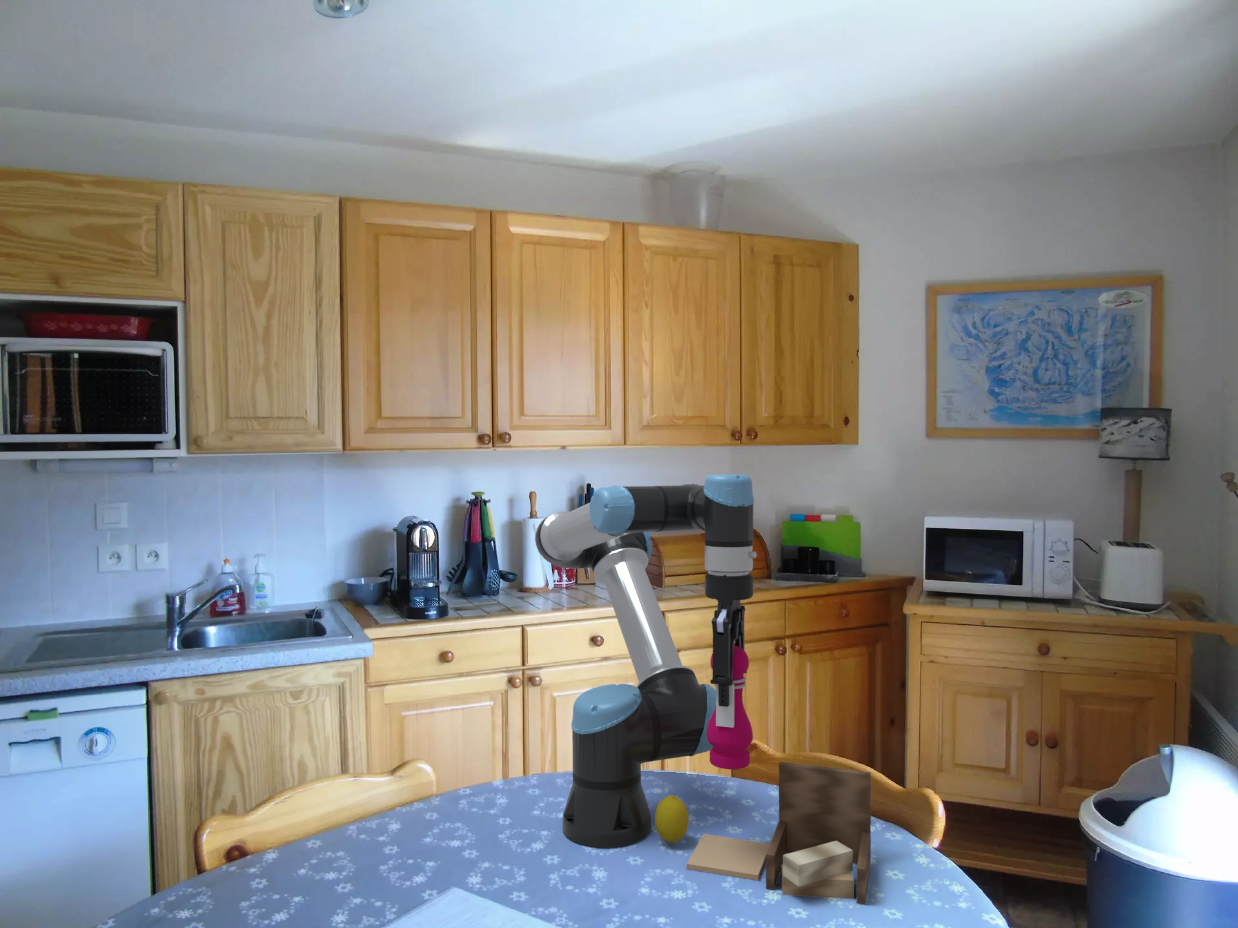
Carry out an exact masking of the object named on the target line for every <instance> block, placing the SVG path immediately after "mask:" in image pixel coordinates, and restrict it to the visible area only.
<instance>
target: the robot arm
mask: <svg viewBox="0 0 1238 928" xmlns="http://www.w3.org/2000/svg"><path fill="white" fill-rule="evenodd" d="M754 503H755V498H754V494H753V480H752V478H751V477H750V476H749V475H748V474H741V473H738V474H734V473H732V474H730V473H721V474H720V473H719V474H717V473H716V474H715V473H714V474H708V475H707V476H706V477H705V479H704V485H701V484H700V485H699V484H695V483H691V484H689V483H688V484H681V485H676V484H675V485H652V486H650V485H649V486H645V485H644V486H643V485H641V486H640V485H637V486H634V485H631V486H628V485H627V486H621V485H612V486H605V487H599V488H597V489H596V490H595V491H594V492H593V494H592V496H591V498H590V502H588V503H586V504H584V505H582V506H579V507H578V508H575V509H573V510H571V511H558V512H557V511H556V512H554V513H552V514H549V515H548V516H547V517H545V518H544V519H542V520H541V522H540V523H539V524H538V526H537V528H536V531H535V537H534V541H535V546H536V549H537V551H538V553H539V554H540V556H541V557H542V558H543V559H544V560H546V562H548V563H550V564H551V565H554V566H556V567H559V568H563V569H571V570H572V569H575V570H576V569H591V570H592V574H593V576H594V579H595V580H596V581H597V582H598V583H600V584H602V585H605V588H606V591H607V595H608V597H609V599H610V603H611V605H612V608H613V612H614V614H615V617H616V619H617V622H618V625H619V629H620V632H621V634H622V637H623V640H624V643H625V646H626V649H627V651H628V654H629V657H630V659H631V663H632V666H633V668H634V671H635V675H636V677H637V680H638V684H637V685H636V686H635V685H633V684H629V683H620V684H616V683H614V684H613V683H611V684H605V685H600V686H597V687H593V688H590V689H588V690H585V691H583V692H581V694H579V696H578V697H577V698H576V699H575V701H574V703H573V706H572V720H571V724H570V725H571V730H572V731H571V732H572V733H571V734H572V736H571V737H572V785H571V787H570V791H569V795H568V797H567V801H566V804H565V807H564V810H563V812H562V832H563V834H564V835H565V837H566V838H567V839H569V840H571V841H572V842H574V843H577V844H579V845H583V846H587V847H594V848H619V847H625V846H630V845H632V844H636V843H638V842H640V841H642V840H643V839H645V838H647V837H648V836H649V834H650V833H651V832H652V831H651V830H652V812H651V809H650V806H649V803H648V800H647V797H646V793H645V792H644V788H643V785H642V765H643V764H645V763H650V762H651V763H652V762H658V761H663V760H671V759H677V758H683V757H693V756H696V755H698V754H703V753H707V752H710V750H711V749H712V748H713V747H712V745H711V744H710V743H709V741H708V739H707V727H708V723H709V721H710V719H711V716H712V714H713V712H714V710H715V707H716V726H723V727H732V728H733V727H734V684H732V683H733V680H732V679H733V660H734V645H735V646H738V647H740V648H742V649H743V650H744V651H745V614H746V613H745V611H746V606H745V605H743V604H741V601H745V600H749V599H751V598H753V596H754V576H753V574H752V573H750V572H751V571H752V570H753V569H754V560H753V559H756V558H757V556H758V554H757V552H756V551H753V550H754V549H753V545H754ZM676 531H677V532H678V531H679V532H681V531H682V532H683V531H700V532H704V569H705V571H708V572H707V573H706V574H705V575H704V595H705V596H706V597H707V598H708V599H711V600H716V601H717V607H716V609H715V610H714V612H713V613H714V615H713V617H712V620H711V629H712V653H713V669H712V677H711V679H710V680H709V682H710V684H711V685H714V684H716V686H715V688H714V686H711V685H710V684H708V683H702V684H700V683H699V681H698V678H697V675H696V674H695V671H694V669H692V668H690V667H689V666H688V667H687V666H685V665H683V663H682V660H681V658H680V655H679V653H678V650H677V647H676V645H675V642H674V640H673V637H672V636H671V633H670V630H669V627H668V625H667V622H666V620H665V619H666V618H664V617H665V616H664V615H663V612H662V609H661V607H660V604H659V602H658V600H657V599H658V598H657V597H656V595H655V591H654V589H653V586H652V583H651V582H650V579H649V576H648V574H647V572H646V569H647V567H648V564H649V560H650V558H651V556H652V550H653V541H651V538H652V534H651V533H652V532H654V533H657V532H659V533H660V532H676ZM734 642H735V644H734ZM745 652H746V651H745ZM744 674H748V670H747V671H746V672H745V673H744Z"/></svg>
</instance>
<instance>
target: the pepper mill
mask: <svg viewBox="0 0 1238 928" xmlns="http://www.w3.org/2000/svg"><path fill="white" fill-rule="evenodd" d="M734 644H735V642H734ZM744 650H745V649H744ZM744 650H743V649H742V648H740V647H738V646H735V645H734V660H733V679H732V680H733V683H732V684H734V727H733V728H732V727H723V726H716V707H715V710H714V712H713V714H712V716H711V719H710V721H709V723H708V727H707V739H708V741H709V743H710V744H711V745H712V747H713V748H712V749H711V750H710V751H709V762H710V764H711V765H712V766H714V767H716V768H719V769H723V770H742V769H745V768H747V767H748V766H749V765H750V764H751V759H750V758H751V753H750V751H749V749H748V748H749V746H750V745H751V744H752V742H753V739H754V734H753V727H752V724H751V721H750V718H749V716H748V715H747V712H746V709H745V706H744V702H743V691H744V688H745V687H746V686H747V684H746V680H747V678H746V676H744V675H745V674H746V673H745V672H746V671H747V672H748V669H749V666H750V660H749V656H748V654H747V652H746V651H744ZM710 668H711V669H712V670H713V652H711V656H710ZM713 685H714V686H715V687H716V684H713Z"/></svg>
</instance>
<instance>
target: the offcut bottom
mask: <svg viewBox="0 0 1238 928" xmlns="http://www.w3.org/2000/svg"><path fill="white" fill-rule="evenodd" d="M852 872H853V871H850V872H847V873H843V874H840V875H836V876H833V877H829V878H826V879H823V880H819V881H816V882H813V883H809V884H806V885H802V886H797V885H796V884H794V883H793V882H791V881H790V880H788V879H787V878H786V877H784V876H783V865H781V871H780V883H781V890H782V891H781V892H782V896H783V895H784V896H796V897H797V896H799V897H816V898H828V899H829V898H830V897H832V898H833V899H846V898H847V899H848V900H850V899H851V900H853V899H855V880H854V876H853V873H852ZM832 898H831V899H832ZM847 899H846V900H847Z"/></svg>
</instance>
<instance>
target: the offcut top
mask: <svg viewBox="0 0 1238 928" xmlns="http://www.w3.org/2000/svg"><path fill="white" fill-rule="evenodd" d="M853 868H854V863H853V850H851V849H850V848H848V847H846V846H845V845H843V844H841V843H839V842H838V841H833V842H829V843H826V844H822V845H818V846H815V847H811V848H807V849H803V850H800V851H796V852H792V853H787V854H785V855H783V876H784V877H786V878H787V879H788V880H790V881H791V882H793V883H794V884H796V885H797V886H802V885H806V884H809V883H813V882H816V881H819V880H823V879H826V878H829V877H833V876H836V875H840V874H843V873H847V872H850V871H851V872H853Z"/></svg>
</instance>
